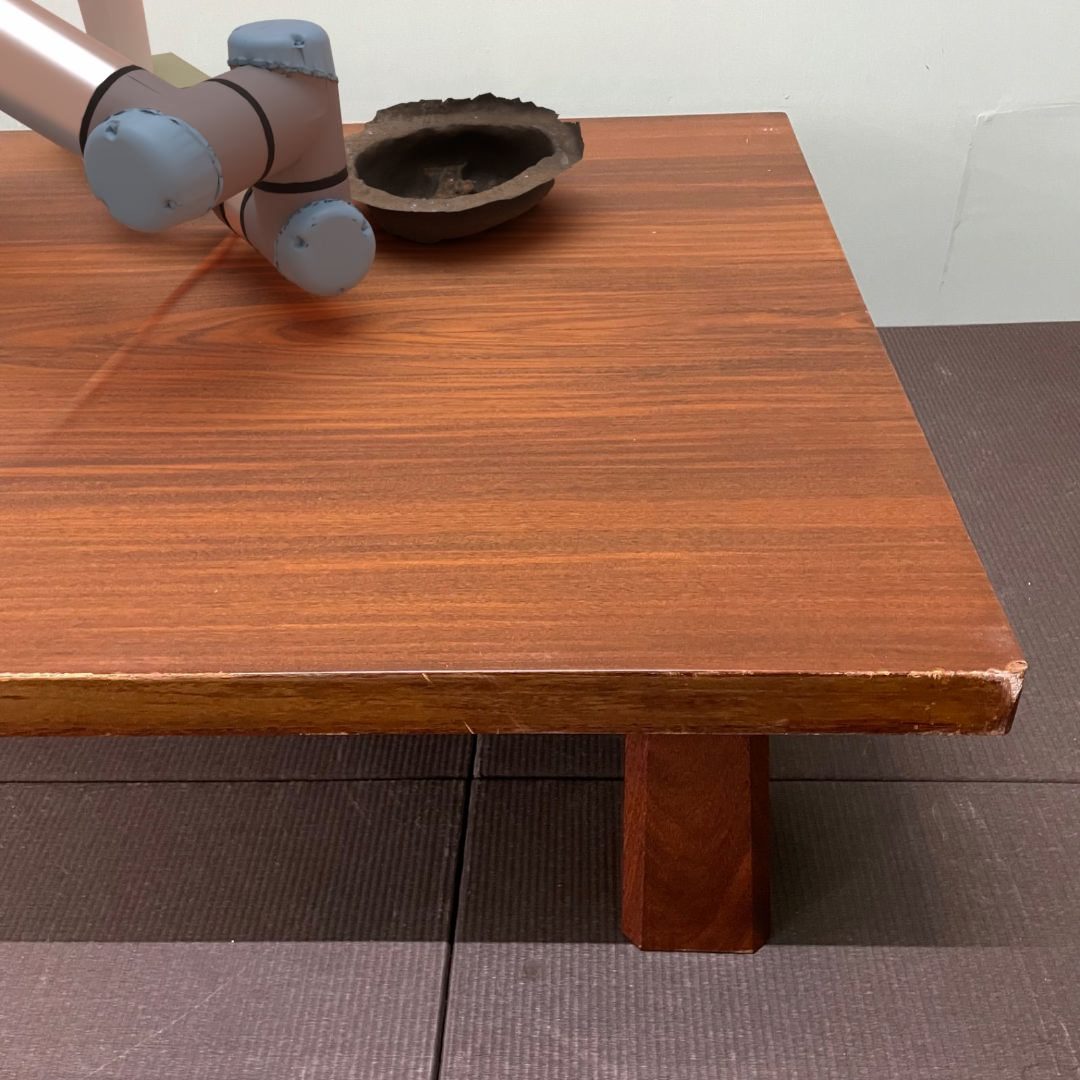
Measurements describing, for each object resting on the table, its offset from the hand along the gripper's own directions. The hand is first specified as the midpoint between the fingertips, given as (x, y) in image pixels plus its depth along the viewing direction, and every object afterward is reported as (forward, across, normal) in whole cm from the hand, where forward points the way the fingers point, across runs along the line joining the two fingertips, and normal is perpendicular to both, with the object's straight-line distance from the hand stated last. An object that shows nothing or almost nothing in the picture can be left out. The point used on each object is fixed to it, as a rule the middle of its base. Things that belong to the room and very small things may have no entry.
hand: (184, 139), depth 115 cm
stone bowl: (-18, +20, -7) cm, 28 cm away
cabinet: (+17, 0, -7) cm, 18 cm away
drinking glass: (+17, 0, +2) cm, 17 cm away
